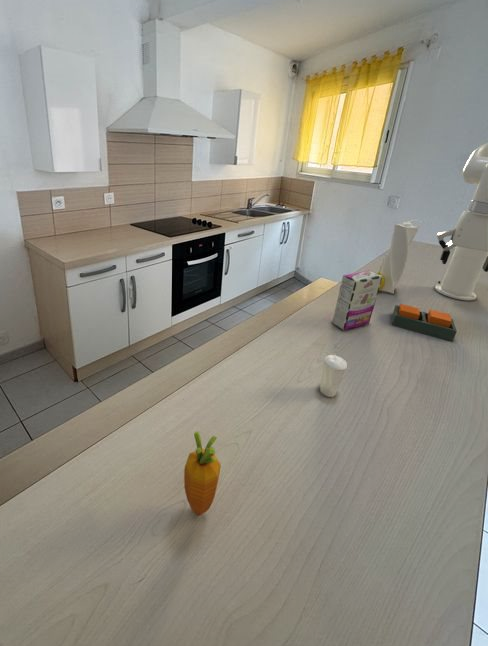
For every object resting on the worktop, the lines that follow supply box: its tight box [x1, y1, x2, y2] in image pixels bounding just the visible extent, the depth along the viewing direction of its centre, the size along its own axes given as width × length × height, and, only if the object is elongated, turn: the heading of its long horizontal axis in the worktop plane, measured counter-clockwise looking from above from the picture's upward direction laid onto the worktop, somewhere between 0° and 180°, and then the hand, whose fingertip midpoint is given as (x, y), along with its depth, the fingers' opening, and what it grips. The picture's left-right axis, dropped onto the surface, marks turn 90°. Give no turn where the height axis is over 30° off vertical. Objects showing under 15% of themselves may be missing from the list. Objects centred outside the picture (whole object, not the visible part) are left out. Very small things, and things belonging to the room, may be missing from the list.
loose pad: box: [426, 309, 452, 328], centre depth 98 cm, size 5×5×4 cm
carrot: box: [183, 431, 221, 516], centre depth 45 cm, size 5×5×15 cm
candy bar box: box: [332, 270, 383, 331], centre depth 97 cm, size 11×5×16 cm, turn 114°
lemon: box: [376, 271, 385, 290], centre depth 121 cm, size 6×6×8 cm
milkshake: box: [319, 346, 348, 398], centre depth 71 cm, size 4×5×10 cm
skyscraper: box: [378, 218, 423, 295], centre depth 119 cm, size 8×8×28 cm
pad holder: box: [391, 304, 457, 342], centre depth 99 cm, size 8×15×4 cm, turn 59°
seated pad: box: [398, 303, 420, 320], centre depth 101 cm, size 5×5×4 cm
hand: (463, 266), depth 94 cm, fingers open, 9 cm apart
